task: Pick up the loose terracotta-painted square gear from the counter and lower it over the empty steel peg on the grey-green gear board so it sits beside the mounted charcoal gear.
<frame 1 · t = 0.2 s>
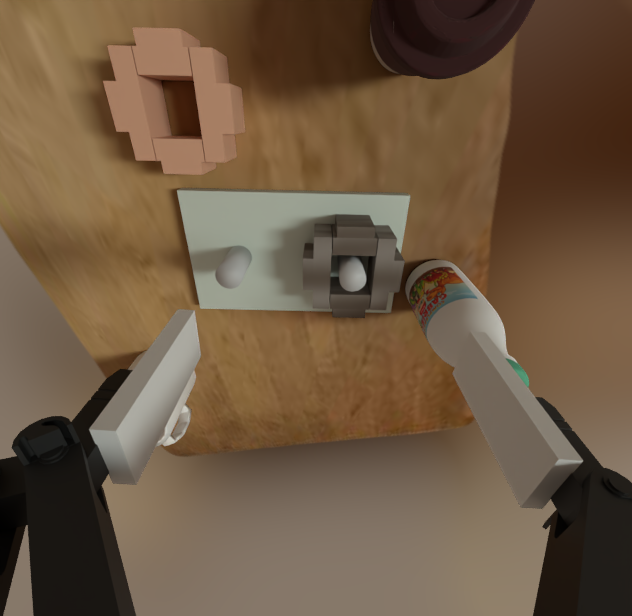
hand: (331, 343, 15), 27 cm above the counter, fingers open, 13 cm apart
coffee cup: (407, 28, 30), on the counter
gear: (190, 109, 34), on the counter
mug: (169, 376, 54), on the counter
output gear: (348, 259, 41), resting on board
milk bottle: (431, 283, 44), on the counter
board: (295, 253, 42), on the counter
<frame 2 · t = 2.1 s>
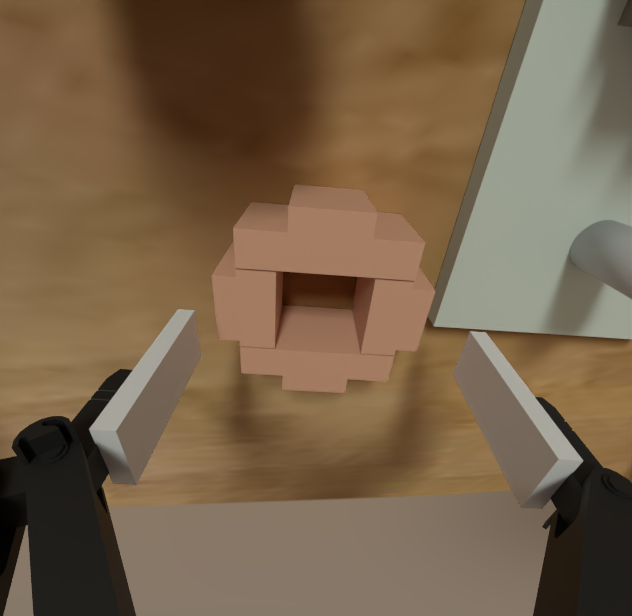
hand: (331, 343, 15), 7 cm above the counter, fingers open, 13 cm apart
gear: (320, 275, 21), on the counter
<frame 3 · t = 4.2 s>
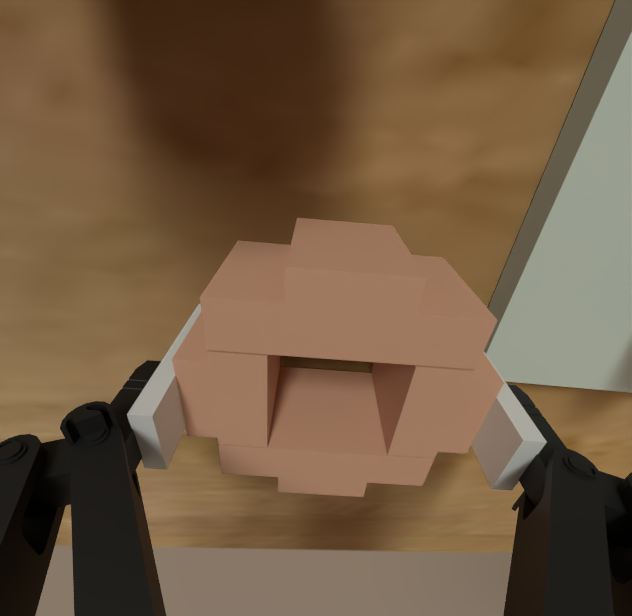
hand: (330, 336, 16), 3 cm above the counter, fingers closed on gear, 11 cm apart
gear: (330, 332, 16), point 2 cm above the counter, touching gripper
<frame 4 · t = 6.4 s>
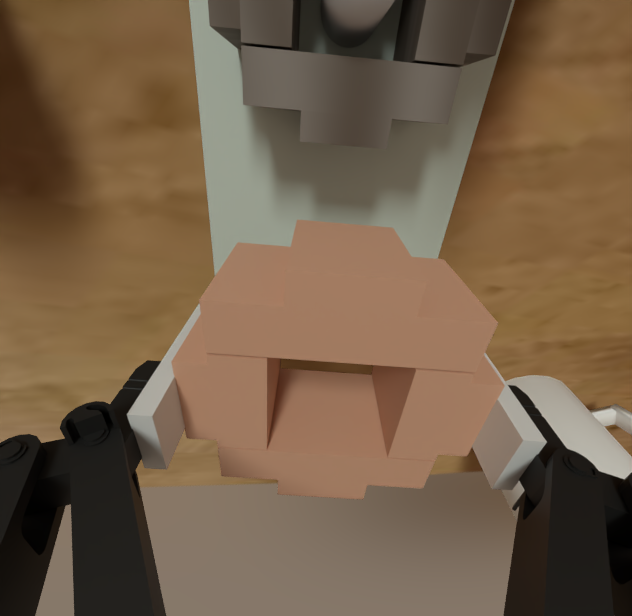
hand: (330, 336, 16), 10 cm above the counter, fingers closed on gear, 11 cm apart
gear: (330, 334, 16), point 10 cm above the counter, touching gripper
mug: (529, 408, 33), on the counter
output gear: (350, 9, 16), resting on board
board: (333, 159, 21), on the counter
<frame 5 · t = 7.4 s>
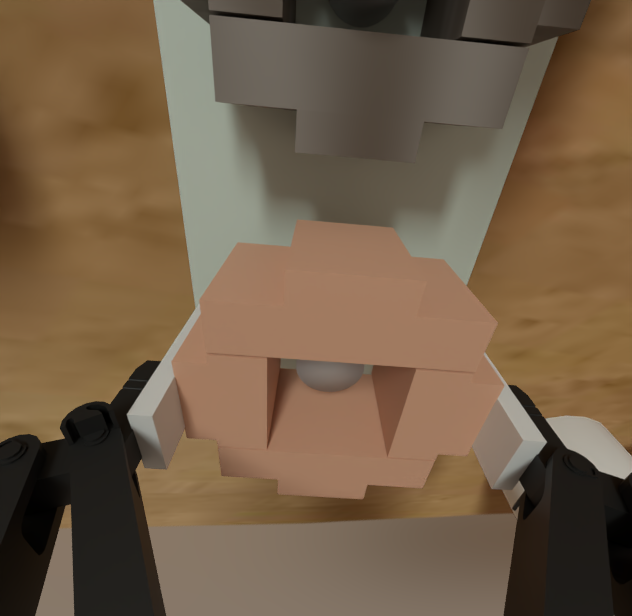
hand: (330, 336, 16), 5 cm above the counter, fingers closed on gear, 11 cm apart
gear: (330, 334, 16), point 5 cm above the counter, touching gripper
mug: (559, 450, 29), on the counter
board: (339, 170, 17), on the counter
when the fingers open (3 cm above the counter, at t = 8.4 s): gear drops 1 cm, resting on board.
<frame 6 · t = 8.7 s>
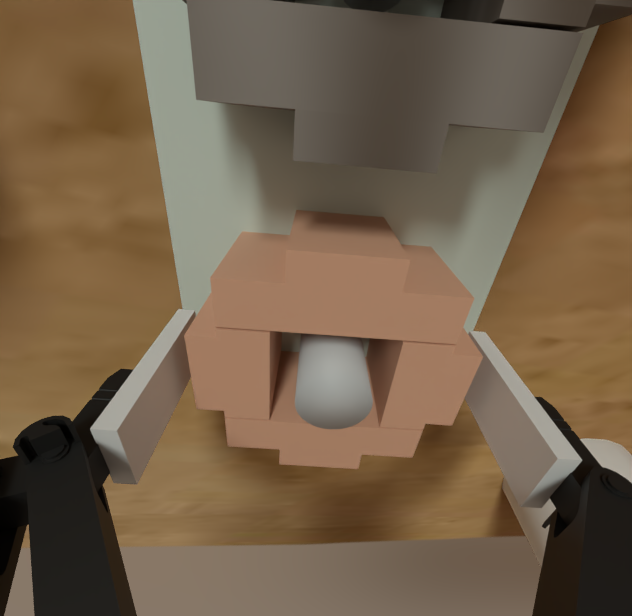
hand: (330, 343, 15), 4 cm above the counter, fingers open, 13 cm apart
gear: (328, 318, 17), point 1 cm above the counter, touching board
mug: (577, 472, 27), on the counter
board: (344, 177, 15), on the counter
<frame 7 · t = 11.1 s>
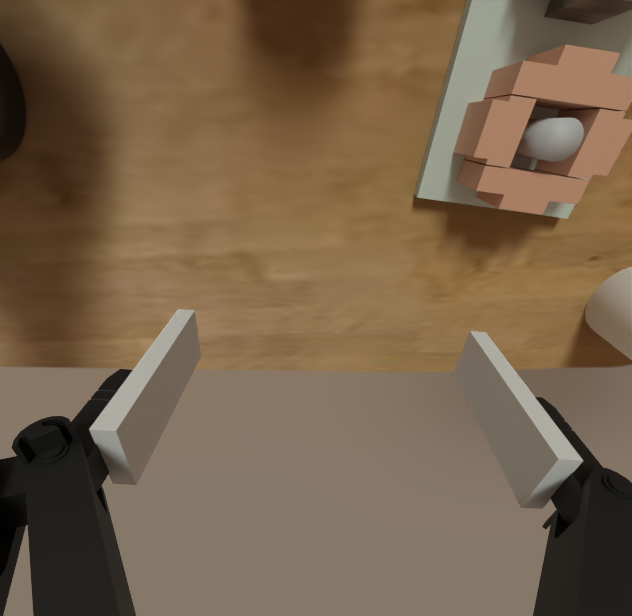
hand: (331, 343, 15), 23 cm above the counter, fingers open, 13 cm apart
gear: (520, 137, 30), point 1 cm above the counter, touching board
board: (548, 45, 27), on the counter
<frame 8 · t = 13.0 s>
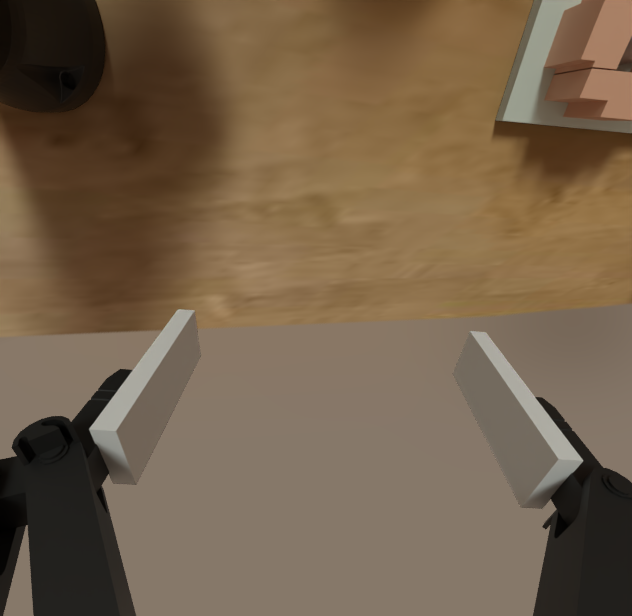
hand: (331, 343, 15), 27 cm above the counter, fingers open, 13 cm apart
gear: (614, 46, 29), point 1 cm above the counter, touching board
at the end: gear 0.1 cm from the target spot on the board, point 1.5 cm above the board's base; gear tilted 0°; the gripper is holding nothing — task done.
